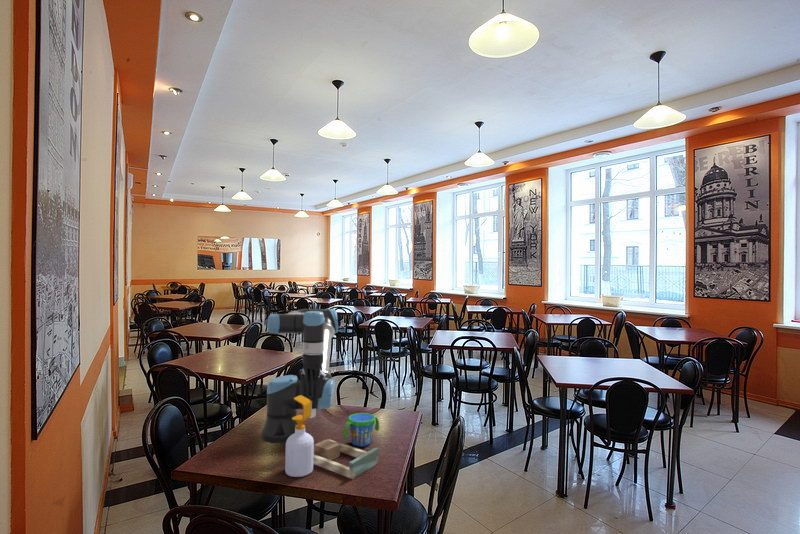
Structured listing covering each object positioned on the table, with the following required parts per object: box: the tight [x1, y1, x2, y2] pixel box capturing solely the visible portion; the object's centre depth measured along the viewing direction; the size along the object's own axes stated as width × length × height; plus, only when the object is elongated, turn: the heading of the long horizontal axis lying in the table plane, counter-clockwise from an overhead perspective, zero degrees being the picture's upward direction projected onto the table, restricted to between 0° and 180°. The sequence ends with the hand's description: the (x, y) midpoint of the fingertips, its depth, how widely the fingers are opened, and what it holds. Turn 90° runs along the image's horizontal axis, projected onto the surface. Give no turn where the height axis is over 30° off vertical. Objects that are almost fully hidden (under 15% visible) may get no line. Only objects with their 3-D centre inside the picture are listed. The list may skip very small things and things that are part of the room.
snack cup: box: [342, 412, 380, 447], centre depth 159 cm, size 16×10×10 cm
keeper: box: [314, 439, 341, 461], centre depth 147 cm, size 7×6×4 cm
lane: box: [313, 438, 380, 480], centre depth 144 cm, size 24×14×5 cm, turn 56°
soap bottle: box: [284, 395, 315, 478], centre depth 136 cm, size 9×9×25 cm
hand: (311, 416), depth 151 cm, fingers closed
